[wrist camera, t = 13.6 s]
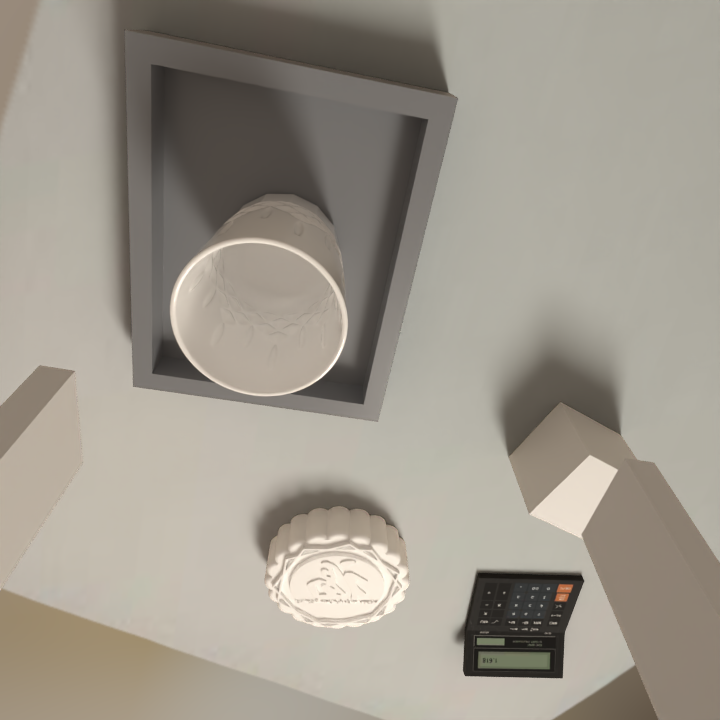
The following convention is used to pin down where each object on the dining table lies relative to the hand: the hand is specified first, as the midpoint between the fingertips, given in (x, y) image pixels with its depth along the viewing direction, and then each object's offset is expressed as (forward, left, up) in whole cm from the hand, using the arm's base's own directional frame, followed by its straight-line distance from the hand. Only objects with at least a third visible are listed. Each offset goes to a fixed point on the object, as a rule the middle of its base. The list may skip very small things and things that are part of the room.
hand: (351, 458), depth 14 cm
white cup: (+3, -4, -22) cm, 23 cm away
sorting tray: (+3, -4, -23) cm, 23 cm away
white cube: (+15, +19, -23) cm, 33 cm away
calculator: (+35, +22, -23) cm, 48 cm away
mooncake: (+30, +4, -23) cm, 38 cm away
